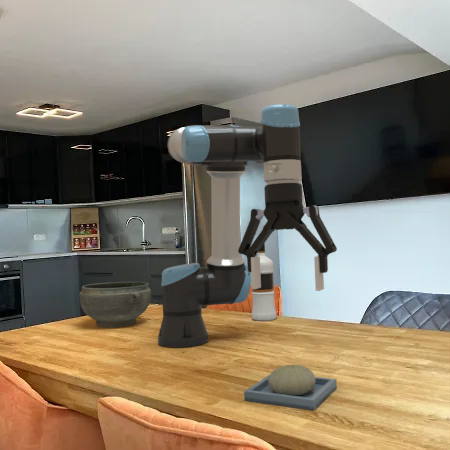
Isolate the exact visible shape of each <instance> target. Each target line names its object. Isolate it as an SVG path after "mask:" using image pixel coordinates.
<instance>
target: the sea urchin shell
mask: <svg viewBox="0 0 450 450" xmlns="http://www.w3.org/2000/svg"><path fill="white" fill-rule="evenodd" d="M269 375H270V376H269V377H268V384H269V386H270V388H271V389H272V391H274V392H276V393H277V394H283V395H293V396H294V395H303V394H305V393H308V392H309V391H311V390H312V389H313V388H314V386H315V382H316V379H315V377H316V375H315V374H314V372H313V371H312V370H311V369H309V368H308V367H306V366H303V365H300V364H286V365H281V366H278V367H276V368H274V369H273V370H272V371H271V372H270V374H269Z"/></svg>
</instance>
